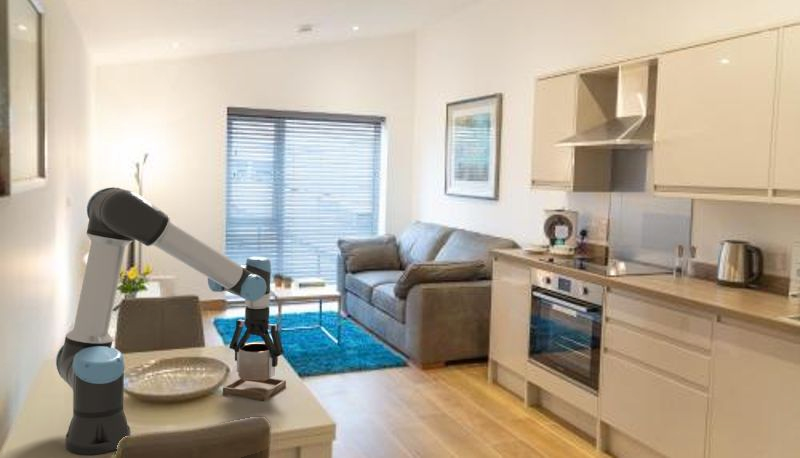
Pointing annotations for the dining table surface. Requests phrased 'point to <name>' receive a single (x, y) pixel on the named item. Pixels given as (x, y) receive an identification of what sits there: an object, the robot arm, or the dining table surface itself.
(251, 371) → the planter
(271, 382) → the tray
